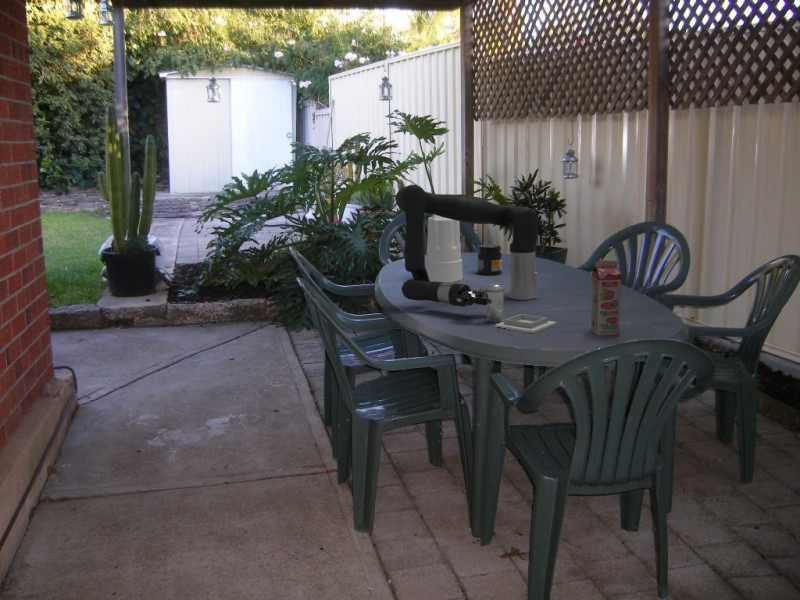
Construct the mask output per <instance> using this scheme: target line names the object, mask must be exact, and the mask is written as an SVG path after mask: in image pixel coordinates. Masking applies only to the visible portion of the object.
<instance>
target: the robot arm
mask: <svg viewBox="0 0 800 600" xmlns="http://www.w3.org/2000/svg"><path fill="white" fill-rule="evenodd" d="M395 203H396V206H397V207H398V208H399V209H400V210H402V211H403V212H404V214H405V215H404V216H405V222H406V225H405V226H406V227H405V229H406V230H405V236H404V245H403V246H404V247H403V248H404V249H403V250H404V251H403V252H404V269H405V271H406V272H408V273H411V275H412V278H411V279H407V280H406V281H404V283H403V284H402V286H401V293H402V295H403V296H404V297H405V298H406V299H407V300H410V301H411V300H412V301H429V302H433V303H441V304H444V305H449V306H455V307H462V308H463V307H467V306H470V307H471V306H472V305H474V306H476V305H480V306H487V304H488V300H487V289H482V288H479V289H478V290H477V289H471V287H470V285H468V284H465V283H457V282H436V281H435V282H434V281H429V277H428V274H427V267H426V262H425V260H426V259H425V257H426V256H425V243H424V242H425V240H424V239H425V238H424V237H425V235H424V234H425V233H424V232H425V231H424V229H425V227H424V226H425V225H424V223H425V214H429V215H433V214H434V215H437V216H441V217H444V218H448V219H452V220H456V221H459V222H462V223H468V224H473V225H474V224H475V225H496V226H500V227H502V228H506V229H509V230H512V232H513V233H512V241H511V242H510V244H509V288H508V289H509V290H508V291H509V292H508V293H509V295H508V297H509V298H510V299H511V300H519V301H528V300H533V299H537V298H538V272H537V271H536V247H537V243H538V237H539V236H538V234H539V233H538V232H539V231H538V230H539V218H538V214H537V213H536V211H534V210H533V209H532V208H530V207H525V206H521V205H520V206H519V205H518V206H517V205H503V204H497V203H494V202H491V201H487V200H485V199H482V198H479V197H473V196H469V195H464V194H463V195H462V194H452V193H451V194H449V193H445V194H444V193H443V194H442V193H440V194H439V193H433V192H428V191H425V190H424V188H422V187H421V186H419V185H418V184H409V185H406V186H405V185H404V186H403V187H402V188H401V189H399V190H398V191H397V193H396V195H395Z"/></svg>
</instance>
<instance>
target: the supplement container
mask: <svg viewBox="0 0 800 600" xmlns="http://www.w3.org/2000/svg"><path fill="white" fill-rule="evenodd" d="M477 247H478V252H477V254H476V255H477V273H478V274H479V275H481V276H498V275H500V274H501V273H502V272H503V269H502V268H503V253H502V251H501V250H502V245H500V244H494V243H492V244H491V243H489V244H488V243H487V244H486V243H485V244H480V245H478V246H477Z"/></svg>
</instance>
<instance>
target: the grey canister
mask: <svg viewBox="0 0 800 600" xmlns="http://www.w3.org/2000/svg"><path fill="white" fill-rule="evenodd" d="M486 290H487V300H488V304H487V305H486V310H487V311H486V319H487V320H486V321H487V322H488V321H489V322H488V323H491V322H500V323H501V321H503V322H504V291H505V288H504V284H503V283H499V282H497V283H487V285H486Z"/></svg>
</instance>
